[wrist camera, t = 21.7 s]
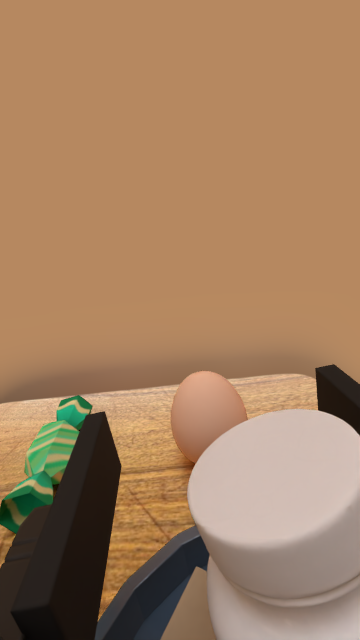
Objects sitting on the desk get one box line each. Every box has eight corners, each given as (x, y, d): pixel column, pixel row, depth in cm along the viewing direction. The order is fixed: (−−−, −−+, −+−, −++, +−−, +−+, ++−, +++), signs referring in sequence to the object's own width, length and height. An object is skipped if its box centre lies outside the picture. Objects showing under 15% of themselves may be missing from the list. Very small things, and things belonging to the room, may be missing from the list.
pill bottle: (485, 1160, 5) (236, 718, 3) (266, 731, 10) (129, 480, 8) (616, 817, 7) (490, 431, 5) (374, 603, 12) (276, 378, 10)
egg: (217, 503, 21) (199, 406, 18) (165, 463, 25) (145, 380, 23) (267, 454, 24) (258, 366, 22) (214, 425, 28) (201, 350, 26)
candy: (65, 516, 21) (14, 482, 20) (32, 544, 21) (-18, 513, 20) (101, 412, 32) (70, 388, 31) (79, 433, 33) (48, 409, 32)
